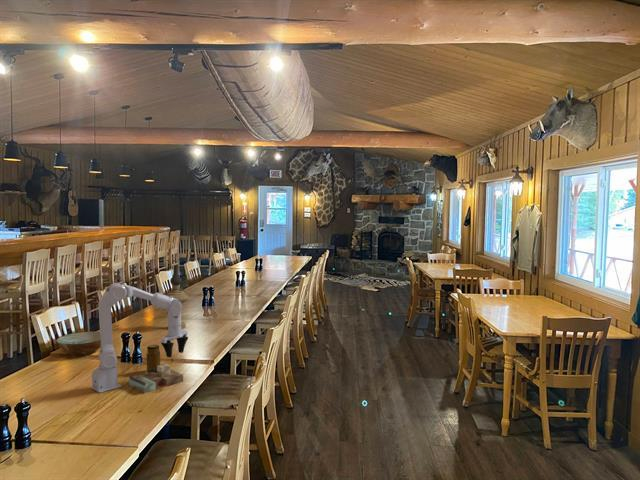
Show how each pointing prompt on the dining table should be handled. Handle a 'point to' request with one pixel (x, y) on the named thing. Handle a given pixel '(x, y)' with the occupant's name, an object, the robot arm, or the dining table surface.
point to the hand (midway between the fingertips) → (175, 354)
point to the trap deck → (154, 381)
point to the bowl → (80, 342)
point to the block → (163, 370)
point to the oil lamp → (177, 290)
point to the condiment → (152, 358)
